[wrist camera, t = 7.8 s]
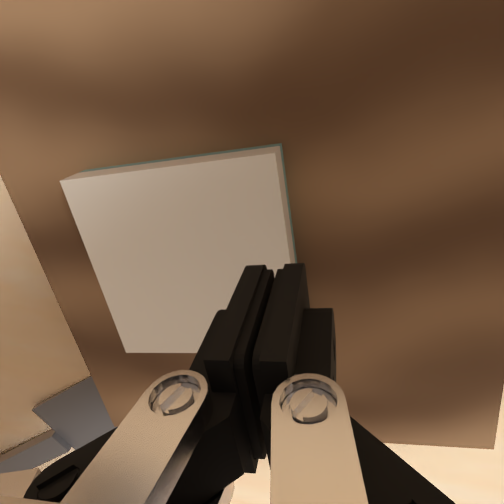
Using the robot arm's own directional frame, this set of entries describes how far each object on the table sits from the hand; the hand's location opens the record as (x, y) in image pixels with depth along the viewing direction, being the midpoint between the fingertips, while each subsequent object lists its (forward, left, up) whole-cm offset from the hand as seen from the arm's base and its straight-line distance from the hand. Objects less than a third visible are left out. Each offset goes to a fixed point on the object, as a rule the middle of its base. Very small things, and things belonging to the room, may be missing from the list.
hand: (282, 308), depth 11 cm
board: (0, -2, -6) cm, 6 cm away
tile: (0, 0, -4) cm, 4 cm away
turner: (+15, -20, -6) cm, 25 cm away
